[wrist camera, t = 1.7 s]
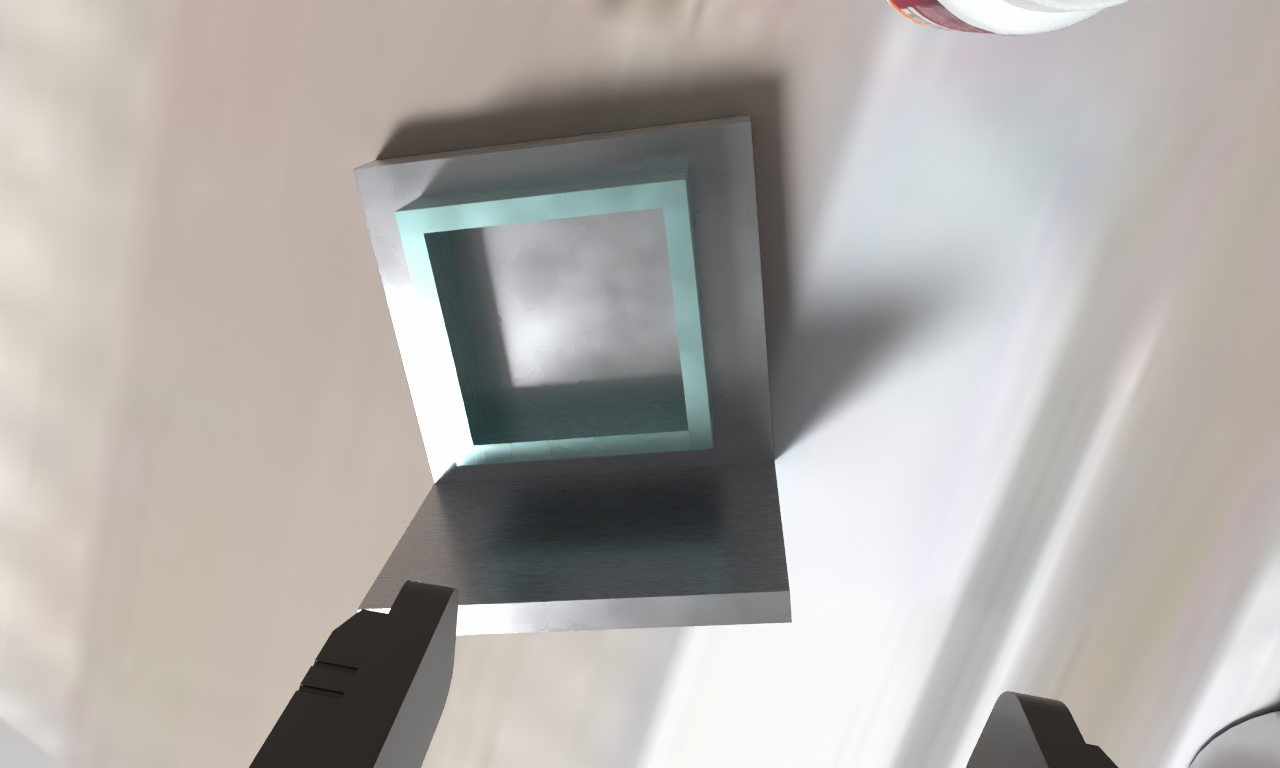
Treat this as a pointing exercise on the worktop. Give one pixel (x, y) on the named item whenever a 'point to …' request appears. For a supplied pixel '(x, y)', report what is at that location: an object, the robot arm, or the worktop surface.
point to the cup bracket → (585, 379)
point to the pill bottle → (1000, 14)
